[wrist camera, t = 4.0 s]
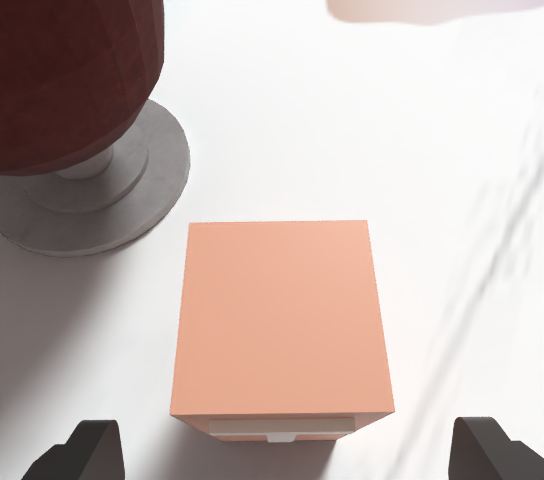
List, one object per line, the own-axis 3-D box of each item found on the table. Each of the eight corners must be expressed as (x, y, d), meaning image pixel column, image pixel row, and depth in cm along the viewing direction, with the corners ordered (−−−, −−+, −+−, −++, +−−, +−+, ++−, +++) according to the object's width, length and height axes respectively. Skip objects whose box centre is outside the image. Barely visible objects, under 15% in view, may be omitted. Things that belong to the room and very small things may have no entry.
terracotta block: (221, 449, 18) (168, 429, 9) (226, 328, 20) (189, 222, 12) (337, 447, 18) (397, 426, 9) (327, 327, 20) (366, 220, 12)
